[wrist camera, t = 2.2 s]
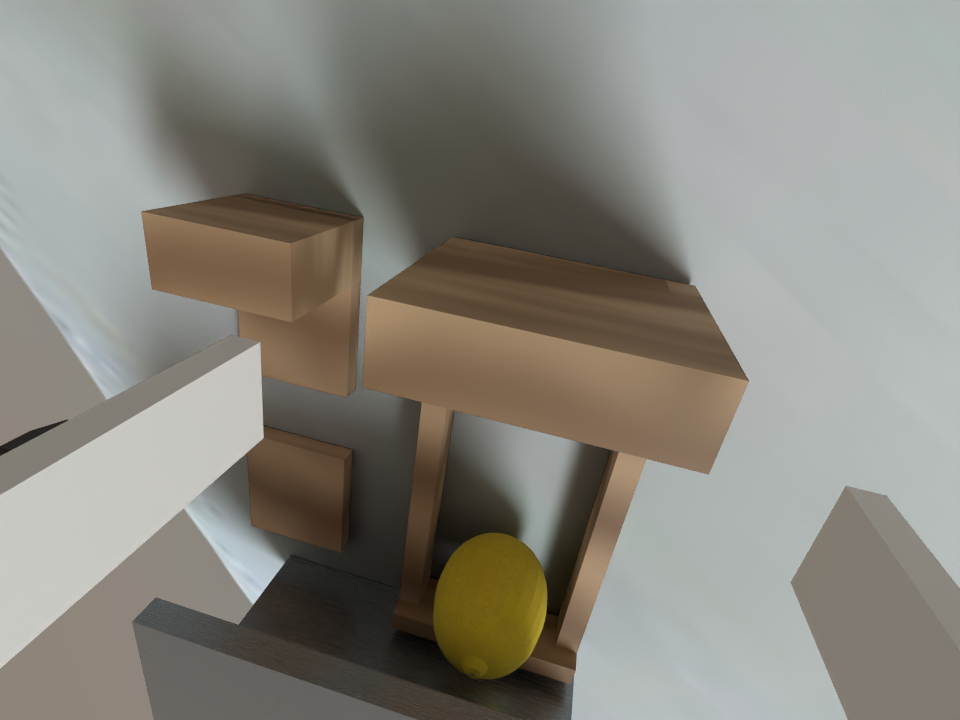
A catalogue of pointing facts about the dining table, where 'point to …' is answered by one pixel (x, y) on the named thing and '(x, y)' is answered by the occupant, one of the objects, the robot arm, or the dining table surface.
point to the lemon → (490, 606)
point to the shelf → (321, 661)
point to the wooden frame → (547, 392)
